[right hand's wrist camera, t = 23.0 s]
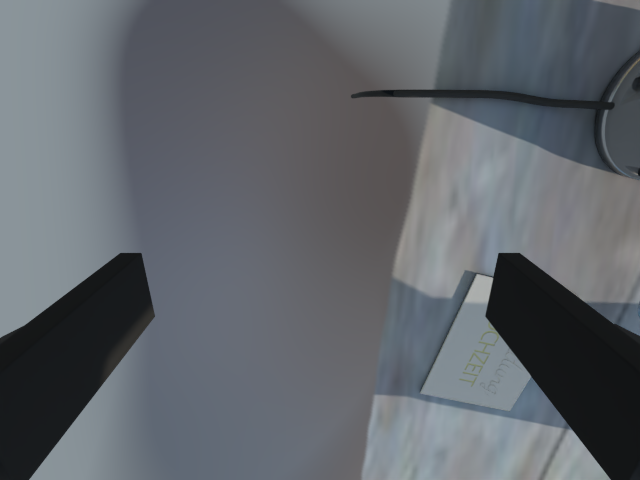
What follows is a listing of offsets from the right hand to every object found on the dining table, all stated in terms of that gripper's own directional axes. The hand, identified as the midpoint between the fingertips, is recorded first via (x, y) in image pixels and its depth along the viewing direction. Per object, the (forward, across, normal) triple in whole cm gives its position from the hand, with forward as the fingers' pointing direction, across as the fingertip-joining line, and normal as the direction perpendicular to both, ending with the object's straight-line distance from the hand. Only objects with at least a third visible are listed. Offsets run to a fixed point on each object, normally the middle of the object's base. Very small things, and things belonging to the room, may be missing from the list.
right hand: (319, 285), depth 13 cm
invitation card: (+29, -25, +27) cm, 47 cm away
